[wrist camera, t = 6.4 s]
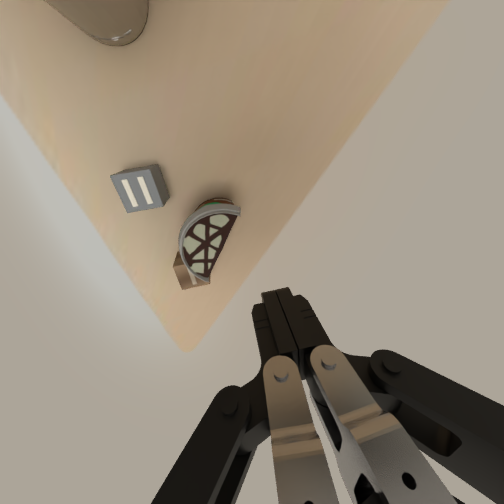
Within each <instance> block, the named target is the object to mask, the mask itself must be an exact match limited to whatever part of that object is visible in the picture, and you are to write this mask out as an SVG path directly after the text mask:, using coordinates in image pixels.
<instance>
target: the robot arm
mask: <svg viewBox="0 0 504 504" xmlns="http://www.w3.org/2000/svg"><path fill="white" fill-rule="evenodd" d="M44 1H45V2H47V3H48V4H49V5H51V6H52V7H53V8H54V9H56V10H57V11H58V12H60V13H61V14H62V15H63V16H65V17H66V18H67V19H68V20H70V21H71V22H72V23H73V24H75V25H76V26H77V27H79V28H80V29H81V30H82V31H84V32H85V33H86V34H88V35H89V36H91V37H92V38H93V39H95V40H97V41H99V42H101V43H104V44H108V45H112V46H122V45H125V44H129V43H130V42H132V41H133V40H135V39H136V38H137V37H138V36H139V34H140V33H141V32H142V30H143V28H144V25H145V23H146V19H147V14H148V0H44ZM261 296H262V303H260V304H255V305H254V306H253V310H252V317H253V322H254V328H255V333H256V337H257V342H258V347H259V352H260V356H261V368H260V371H259V373H258V374H257V376H256V377H255V378H254V379H253V380H252V381H250V382H249V383H247V384H245V385H244V386H243V387H238V386H235V385H233V386H232V385H231V386H228V387H225V388H223V389H222V390H220V391H219V393H217V395H216V396H215V397H214V399H213V401H212V403H211V404H210V406H209V408H208V409H207V411H206V413H205V414H204V416H203V418H202V419H201V421H200V423H199V424H198V426H197V428H196V429H195V431H194V433H193V434H192V436H191V438H190V439H189V441H188V443H187V444H186V446H185V448H184V449H183V451H182V453H181V454H180V456H179V458H178V459H177V461H176V463H175V464H174V466H173V468H172V469H171V471H170V473H169V474H168V476H167V478H166V479H165V481H164V483H163V484H162V486H161V488H160V489H159V491H158V493H157V494H156V496H155V498H154V499H153V501H152V503H151V504H235V503H236V500H237V497H238V495H239V492H240V490H241V487H242V484H243V482H244V479H245V477H246V474H247V472H248V469H249V467H250V464H251V461H252V459H253V456H254V454H255V451H256V448H257V446H258V445H259V444H260V443H262V442H263V441H264V440H265V439H267V438H268V437H269V436H270V435H271V443H272V453H273V462H274V469H275V477H276V485H277V493H278V501H279V504H339V501H338V498H337V495H336V491H335V488H334V484H333V481H332V477H331V474H330V470H329V467H328V463H327V460H326V456H325V453H324V449H323V446H322V443H321V440H320V438H319V436H318V434H317V433H316V430H315V427H314V424H313V420H312V417H311V413H310V410H309V406H308V402H307V399H306V395H305V391H304V388H303V384H302V381H301V380H305V379H306V380H307V383H308V386H309V388H310V398H311V400H312V403H313V405H314V407H315V410H316V412H317V414H318V416H319V419H320V421H321V423H322V425H323V428H324V430H325V432H326V435H327V437H328V439H329V441H330V444H331V446H332V448H333V451H334V453H335V456H336V460H337V464H338V468H339V471H340V473H341V476H342V479H343V481H344V483H345V486H346V488H347V491H348V493H349V495H350V498H351V500H352V502H353V504H465V503H463V502H462V501H460V500H459V499H457V498H456V497H454V496H452V495H451V494H450V492H449V491H448V490H447V488H446V487H445V485H444V484H443V482H442V481H441V480H440V478H439V477H438V475H437V474H436V473H435V471H434V470H433V469H432V467H431V466H430V464H429V463H428V461H427V460H426V459H425V457H424V456H423V454H422V453H421V452H420V451H419V450H421V451H422V452H424V453H425V454H427V455H428V456H429V457H431V458H432V459H434V460H435V461H436V462H438V463H439V464H441V465H442V466H444V467H445V468H446V469H448V470H449V471H451V472H452V473H454V474H455V475H456V476H458V477H459V478H461V479H462V480H464V481H465V482H466V483H468V484H469V485H471V486H472V487H473V488H475V489H477V490H478V491H479V492H481V493H482V494H484V495H485V496H486V497H488V498H489V499H491V500H492V501H493V502H495V503H496V504H504V406H503V405H501V404H499V403H497V402H495V401H493V400H491V399H489V398H487V397H484V396H483V395H481V394H479V393H477V392H475V391H473V390H470V389H468V388H467V387H464V386H462V385H460V384H458V383H456V382H454V381H452V380H450V379H448V378H446V377H444V376H442V375H440V374H438V373H436V372H434V371H432V370H430V369H428V368H426V367H424V366H422V365H420V364H418V363H416V362H413V361H412V360H410V359H408V358H406V357H404V356H402V355H400V354H397V353H395V352H393V351H389V350H377V351H375V352H374V353H373V354H372V355H371V357H365V356H353V355H349V354H346V353H343V352H341V351H340V350H338V349H337V348H336V347H335V346H334V345H333V344H332V343H331V341H330V339H329V338H328V336H327V334H326V332H325V330H324V329H323V327H322V325H321V323H320V322H319V320H318V318H317V317H316V314H315V313H314V311H313V310H312V307H311V306H310V304H309V302H308V300H306V299H305V298H304V297H303V296H301V295H296V296H293V295H292V293H291V291H290V289H289V288H288V287H286V288H282V289H277V290H275V291H274V290H273V291H268V292H263V293H261Z"/></svg>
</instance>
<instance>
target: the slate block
mask: <svg viewBox="0 0 504 504" xmlns="http://www.w3.org/2000/svg"><path fill="white" fill-rule="evenodd" d="M110 177H111V180H112V182H113V184H114V186H115V188H116V190H117V192H118V194H119V196H120V199H121V201H122V203H123V205H124V207H125V209H126V211H127V213H130V212H136V211H141V210H147V209H152V208H158V207H163V206H164V205H165V203H166V202H167V200H168V199H169V198H170V197H169V194H168V191H167V188H166V185H165V182H164V179H163V176H162V173H161V171H160V168H159V165H158V164H157V165H151V166H145V167H139V168H133V169H127V170H123V171H121V172H118V173H116V174H113V175H111V176H110Z"/></svg>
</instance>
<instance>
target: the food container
mask: <svg viewBox="0 0 504 504" xmlns="http://www.w3.org/2000/svg"><path fill="white" fill-rule="evenodd" d="M240 213H241V208H240V207H239V206H236V205H234V204H233V202H232V201H231V200H228V199H224V198H214V199H210V200H207V201H205V202H204V203H202V204H201V205H199V207H198V208H197V209H196V211H195V212H194V213H193V214H191V215H190V216H189V217H188V218H187V220H186V221H185V222H184V224H183V226H182V228H181V230H180V234H179V250H180V255H181V258H182V260H183V262H184V264H185V266H186V267H187V268H188V270H189V271H190V272H191V273H192V274H193V275H195V276H196V277H197V278H199V279H201V280H203V281H206V282H209V275H210V273H211V271H212V268H213V266H214V264H215V262H216V260H217V258H218V256H219V254H220V252H221V251H222V248H223V246H224V244H225V242H226V239H227V237H228V235H229V233H230V231H231V228H232V226H233V224H234V222H235V220H236V218H237V216H240Z"/></svg>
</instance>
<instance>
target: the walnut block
mask: <svg viewBox="0 0 504 504" xmlns="http://www.w3.org/2000/svg"><path fill="white" fill-rule="evenodd" d="M173 268H174V271H175V273H176V276H177V278H178V281H179V283H180V285H181V288H182V290H183V289H188V288H193V287H197V286H202V285H207V284H210V275H209V282H206V281H203V280H201V279H199V278H197V277H196V276H195V275H193V274H192V273H191V272H190V271H189V270H188V268H187V267H186V266H185V264H184V262H183V260H182V258H181V255H180V252H177V255H176V258H175V262H174V265H173Z"/></svg>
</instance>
